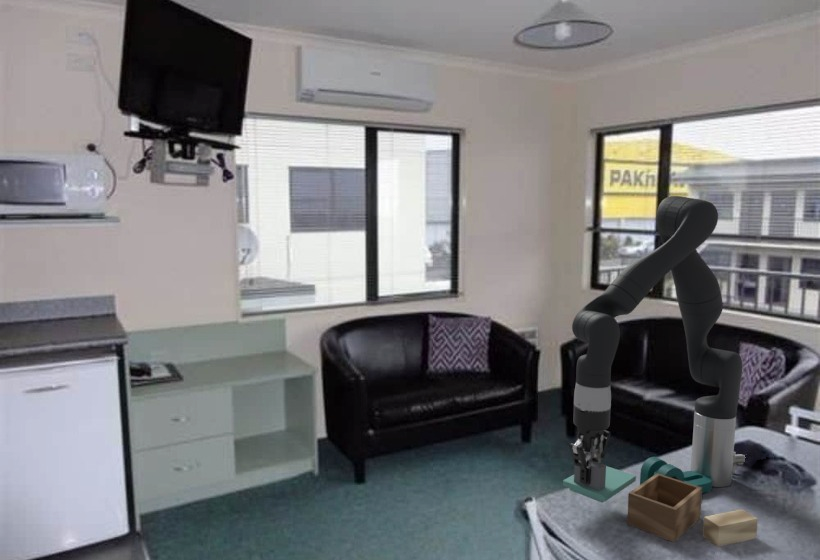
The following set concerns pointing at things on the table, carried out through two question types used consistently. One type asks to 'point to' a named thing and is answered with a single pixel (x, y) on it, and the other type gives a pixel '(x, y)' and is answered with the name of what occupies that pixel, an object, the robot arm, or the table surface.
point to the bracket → (673, 473)
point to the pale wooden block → (730, 527)
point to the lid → (600, 482)
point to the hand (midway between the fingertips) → (588, 480)
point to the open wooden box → (664, 506)
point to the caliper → (737, 460)
